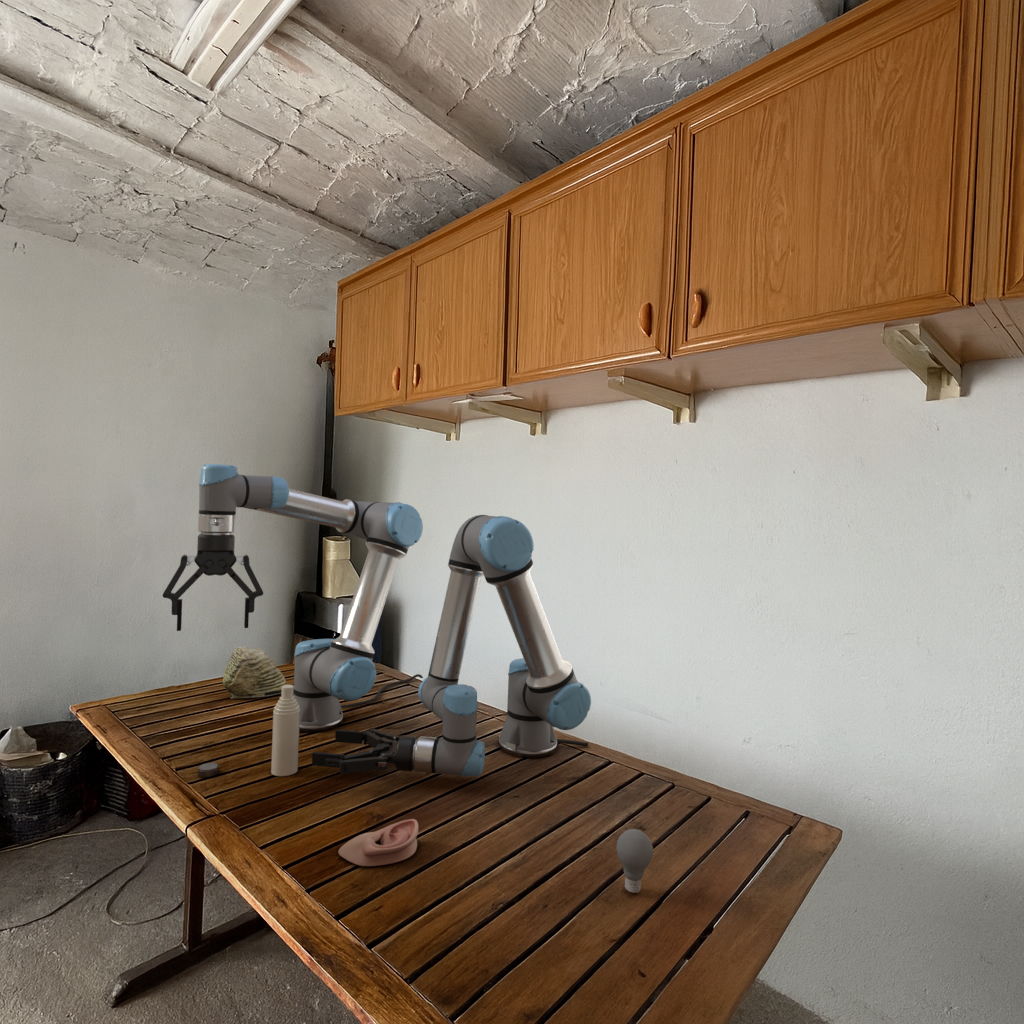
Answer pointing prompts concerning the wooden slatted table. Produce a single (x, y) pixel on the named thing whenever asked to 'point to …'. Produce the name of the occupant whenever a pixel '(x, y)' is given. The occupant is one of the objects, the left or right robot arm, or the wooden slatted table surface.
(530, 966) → the wooden slatted table surface
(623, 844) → the light bulb
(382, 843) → the anatomical model
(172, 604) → the left robot arm
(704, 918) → the wooden slatted table surface
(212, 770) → the cap
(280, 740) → the bottle
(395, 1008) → the wooden slatted table surface
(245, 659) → the fossil
